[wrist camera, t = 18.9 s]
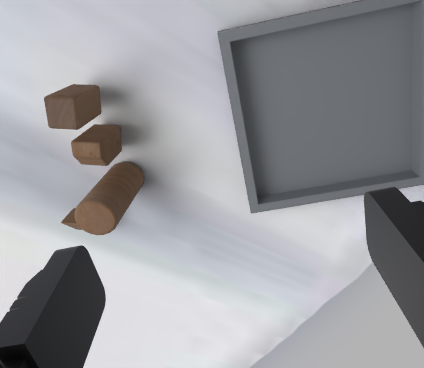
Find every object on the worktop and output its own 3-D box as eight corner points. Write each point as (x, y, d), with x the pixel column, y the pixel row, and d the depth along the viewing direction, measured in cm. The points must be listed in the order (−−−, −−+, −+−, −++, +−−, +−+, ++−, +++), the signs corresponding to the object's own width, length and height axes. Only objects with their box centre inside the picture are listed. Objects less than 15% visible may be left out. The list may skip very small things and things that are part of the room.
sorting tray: (217, 31, 40) (217, 33, 37) (418, -13, 38) (434, -15, 35) (249, 201, 48) (251, 213, 45) (416, 173, 46) (429, 183, 43)
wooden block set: (62, 80, 42) (7, 102, 33) (139, 83, 42) (105, 106, 32) (82, 221, 50) (42, 271, 41) (147, 226, 49) (122, 278, 40)
